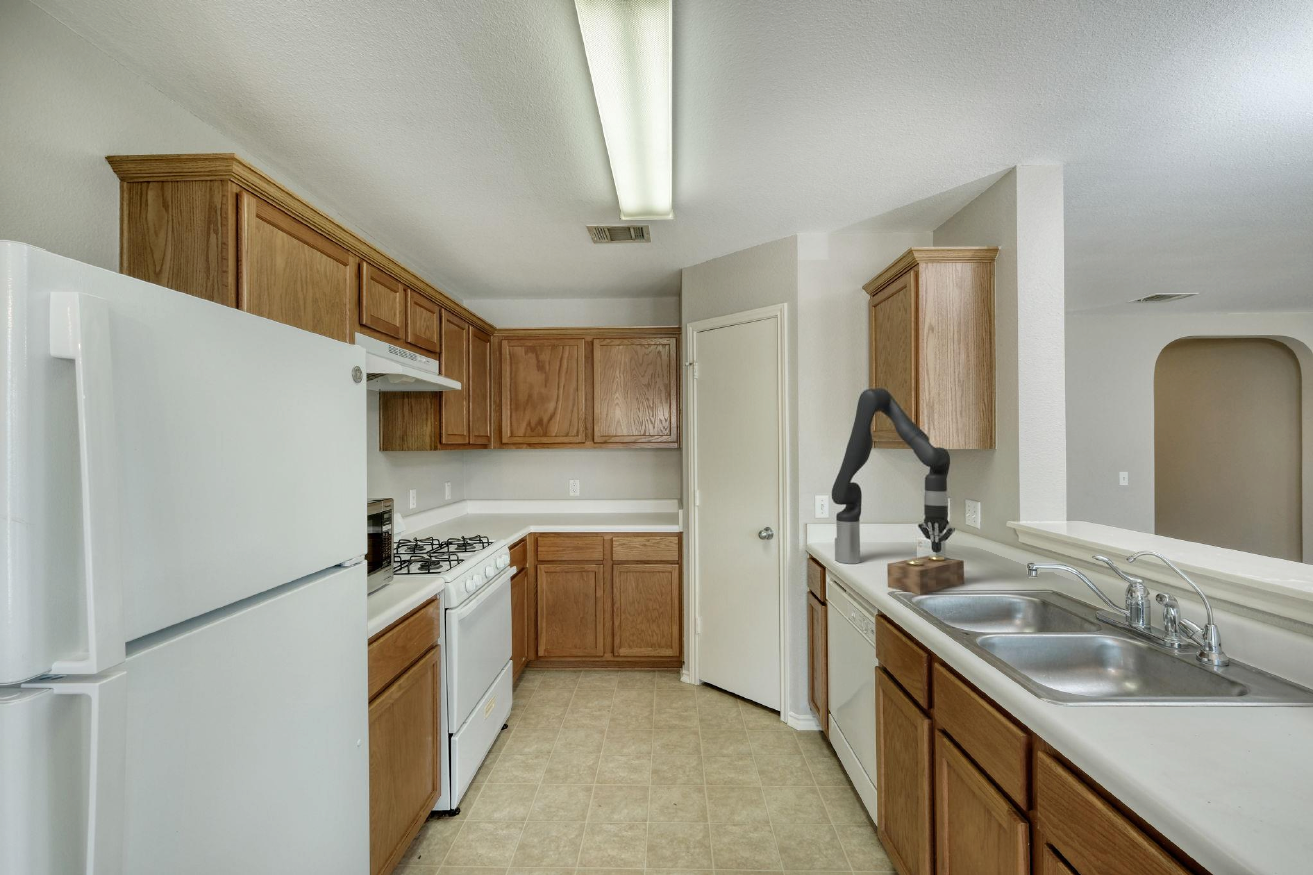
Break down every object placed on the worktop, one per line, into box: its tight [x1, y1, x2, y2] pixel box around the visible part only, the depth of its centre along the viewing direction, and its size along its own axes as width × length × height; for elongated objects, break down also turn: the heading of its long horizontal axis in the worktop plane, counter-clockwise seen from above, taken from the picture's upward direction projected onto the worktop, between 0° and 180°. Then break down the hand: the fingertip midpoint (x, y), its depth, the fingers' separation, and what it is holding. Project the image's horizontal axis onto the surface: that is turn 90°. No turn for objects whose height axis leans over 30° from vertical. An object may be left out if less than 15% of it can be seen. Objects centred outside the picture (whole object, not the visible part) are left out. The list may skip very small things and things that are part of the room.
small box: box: [916, 536, 947, 558], centre depth 206 cm, size 8×6×13 cm
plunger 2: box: [929, 555, 945, 562], centre depth 193 cm, size 5×5×8 cm
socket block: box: [886, 555, 965, 596], centre depth 189 cm, size 12×26×8 cm, turn 122°
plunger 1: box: [906, 559, 923, 567], centre depth 186 cm, size 5×5×8 cm
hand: (936, 552), depth 193 cm, fingers closed
